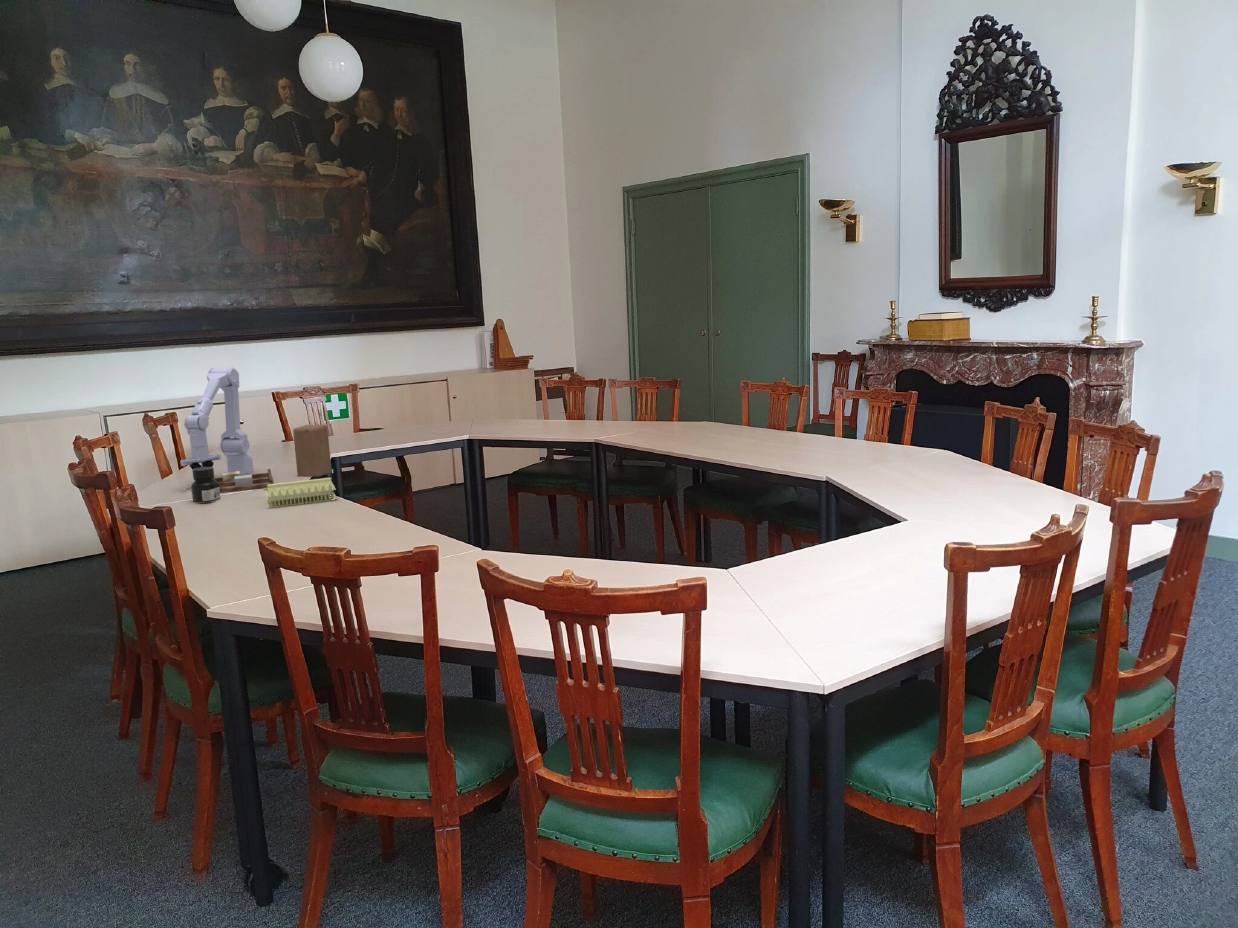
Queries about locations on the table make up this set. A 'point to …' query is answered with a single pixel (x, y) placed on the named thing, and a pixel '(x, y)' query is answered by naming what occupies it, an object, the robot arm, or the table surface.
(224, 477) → the birch block
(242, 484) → the grey block
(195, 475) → the ink bottle
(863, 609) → the table surface
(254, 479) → the lane shelf
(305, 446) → the wooden block
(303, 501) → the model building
